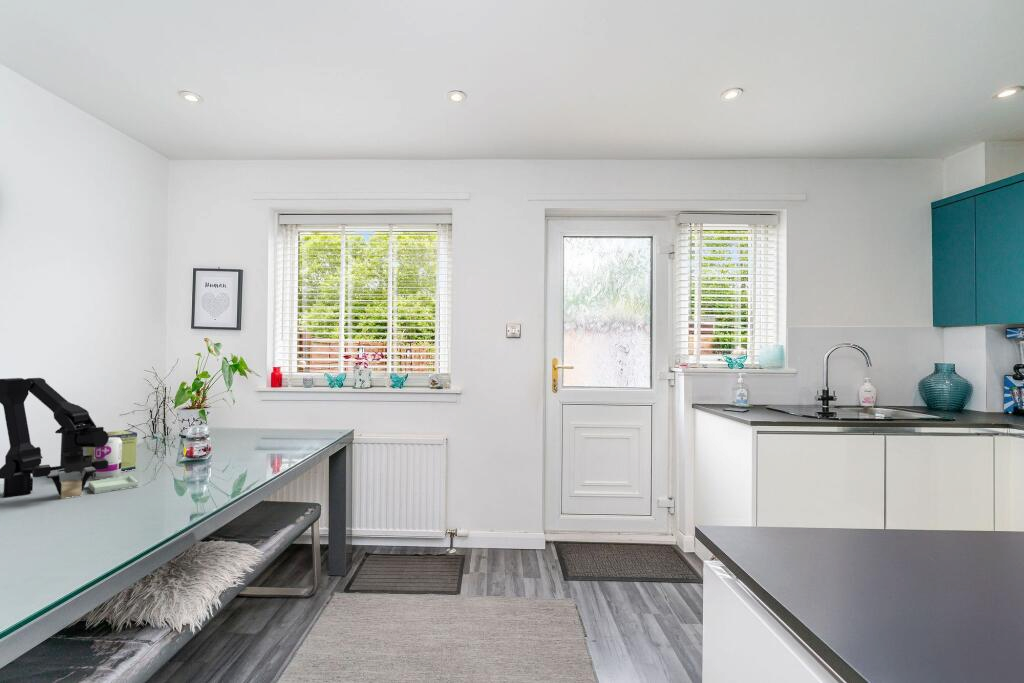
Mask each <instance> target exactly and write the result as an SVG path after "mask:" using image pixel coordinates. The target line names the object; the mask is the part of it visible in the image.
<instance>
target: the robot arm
mask: <svg viewBox="0 0 1024 683" xmlns="http://www.w3.org/2000/svg"><path fill="white" fill-rule="evenodd" d="M29 393H31V394H32V395H33V396H34V397H35V398H36V399H38V400H39V401H40V403H42V404H43V405H44V406H46V407H47V408H48V409H49V410H50V411H51V412H52V413H53V419H54V420H55V421H56V423H57V424H58V425H59V426H60V427H59V429H56V430H55V434H61V437H60V438H61V440H60V443H61V444H60V462H59V463H60V464H59V465H55V466H50V465H51V464H42V460H43V458H44V457H43V456H42V450H41V449H42V448H41V447H40V446H37V447H35V445H33V444H32V442H31V436H30V430H29V425H28V419H27V418H28V417H27V413H26V408H25V401H26V399H27V398H28V395H29ZM0 404H1V405H2V407H3V412H4V419H5V423H6V429H7V435H8V441H9V449H8V451H7V453H6V454H5V456H4V457H5V458H4V459H5V460H4V461H5V462H4V463H5V464H3V466H1V468H0V479H3V492H2V496H3V498H8V497H17V496H22V495H30V494H32V491H33V489H34V487H33V486H34V484H33V482H34V478H41V477H42V478H43V477H46V478H47V479H51V480H52V481H53V484H54V486H55V488H56V492H57V493H58V495H61V486H60V481H61V480H60V478H61V477H60V476H61V475H60V474H59V472H60V473H61V472H64V473H66V474H71V473H76V472H79V473H80V472H81V471H82V474H81V478H80V480H81V481H82V491H81V493H82V492H83V491H84V489H85V486H86V483H87V481H88V479H89V478H90V477H89V476H90V475H91V474H92V473H94V472H96V470H95V469H97V470H99V469H107V468H108V461H107V460H106V459H104V458H102V459H93V460H92V455H87V456H84V455H83V449H84V447H98V448H101V447H103V446H105V445H106V444H107V442H108V439H109V436H108V434H107V432H108V431H105V429H104V427H103V426H98V427H97V425H96V423H95V422H94V421H93V419H92V418H91V416H90V413H89V411H88V410H87V409H86V408H84V407H82V406H80V405H79V404H75V403H71V402H69V401H68V400H67V399H65V397H63V396H62V395H61V394H60V393H59V392H57V391H56V390H55V389H54V388H53V387H52V386H50V384H49V383H47V382H46V380H45V379H44V378H43V377H29V378H25V379H24V378H22V377H12V378H0Z"/></svg>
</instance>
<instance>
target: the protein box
mask: <svg viewBox="0 0 1024 683" xmlns="http://www.w3.org/2000/svg"><path fill="white" fill-rule="evenodd" d="M106 432H107V434H108V436H109V437H120V439H121V440H122V459H121V471H125V470H132V469H137V468H136V467H137V464H136V463H137V448H138V447H137V446H138V445H137V443H138V432H135V431H132V430H128V429H122V430H113V431H106ZM83 455H84V456H87V455H92V460H93V459H94V447H84V449H83ZM80 473H82V471H81V472H79V474H80ZM90 476H93V473H92V474H91V475H90ZM90 476H89V478H91V477H90Z"/></svg>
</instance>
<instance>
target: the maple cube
mask: <svg viewBox="0 0 1024 683" xmlns="http://www.w3.org/2000/svg"><path fill="white" fill-rule="evenodd" d="M60 486H61V495H60V496H59V498H60V497H61V498H66V497H72V496H80V495H81V496H82V492H83V490H82V481H81V478H75V479H67V480H60ZM81 491H82V492H81ZM81 496H80V497H81ZM61 498H60V499H61Z"/></svg>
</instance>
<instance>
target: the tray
mask: <svg viewBox="0 0 1024 683" xmlns="http://www.w3.org/2000/svg"><path fill="white" fill-rule="evenodd" d="M138 484H139V481H138V480H137V479H135V477H133V476H132V475H126V476H119V477H117V478H110V479H103V480H97V479H95V480H91V481H90V480H89V481H88V488H89V487H90V488H91V489H92V490H91V489H90V488H89V489H90V490H91V492H92V493H93V492H94V493H97V494H100V493H99V492H104V491H109V490H116V489H122V488H129V487H136V486H138ZM138 487H139V486H138ZM136 488H137V487H136ZM94 493H93V494H94ZM104 493H105V492H104Z"/></svg>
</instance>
